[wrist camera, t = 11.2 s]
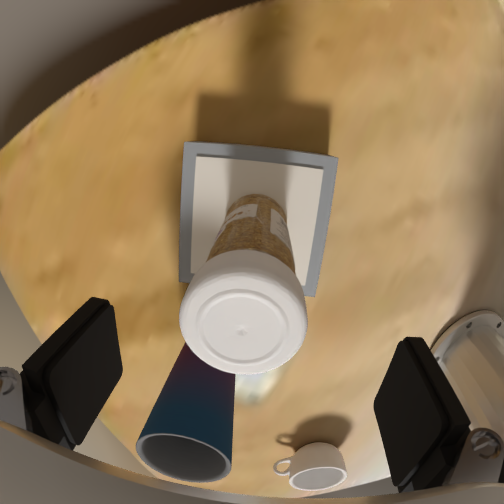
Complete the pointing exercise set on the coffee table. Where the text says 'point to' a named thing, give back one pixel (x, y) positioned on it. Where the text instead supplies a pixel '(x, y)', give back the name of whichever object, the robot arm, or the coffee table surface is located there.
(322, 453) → the teacup
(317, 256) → the base
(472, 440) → the robot arm
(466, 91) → the coffee table surface
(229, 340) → the sprinkles bottle
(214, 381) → the cup
